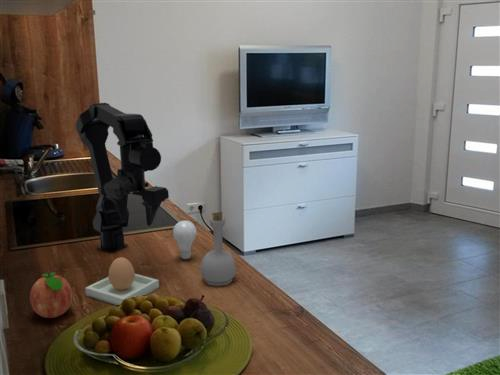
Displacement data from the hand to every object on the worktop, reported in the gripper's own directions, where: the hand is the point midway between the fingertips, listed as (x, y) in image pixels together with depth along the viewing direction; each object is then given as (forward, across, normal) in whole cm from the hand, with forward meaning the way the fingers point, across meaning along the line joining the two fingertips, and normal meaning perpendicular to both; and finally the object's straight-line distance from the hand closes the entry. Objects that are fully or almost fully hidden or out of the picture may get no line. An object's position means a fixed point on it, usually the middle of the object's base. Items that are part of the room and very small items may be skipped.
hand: (136, 222), depth 138 cm
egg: (+12, +8, -14) cm, 20 cm away
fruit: (+12, +3, -30) cm, 33 cm away
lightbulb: (+12, +8, +10) cm, 18 cm away
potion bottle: (+12, +24, +3) cm, 27 cm away
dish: (+12, +8, -14) cm, 20 cm away
